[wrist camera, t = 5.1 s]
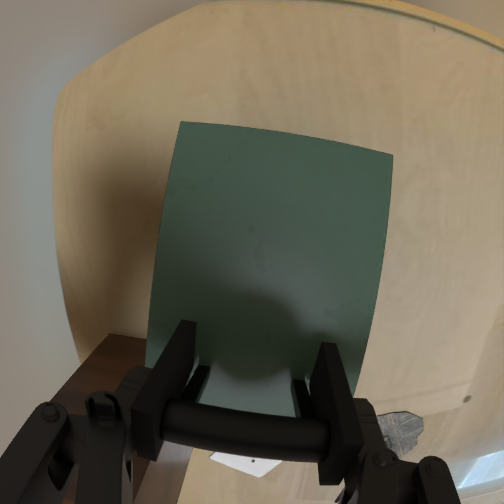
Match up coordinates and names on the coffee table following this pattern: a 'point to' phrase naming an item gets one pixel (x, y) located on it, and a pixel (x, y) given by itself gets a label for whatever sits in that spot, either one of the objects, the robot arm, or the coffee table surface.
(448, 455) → the coffee table surface
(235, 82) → the coffee table surface
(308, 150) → the box lid
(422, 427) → the sculpture
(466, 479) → the coffee table surface
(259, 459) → the coaster
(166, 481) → the plinth
